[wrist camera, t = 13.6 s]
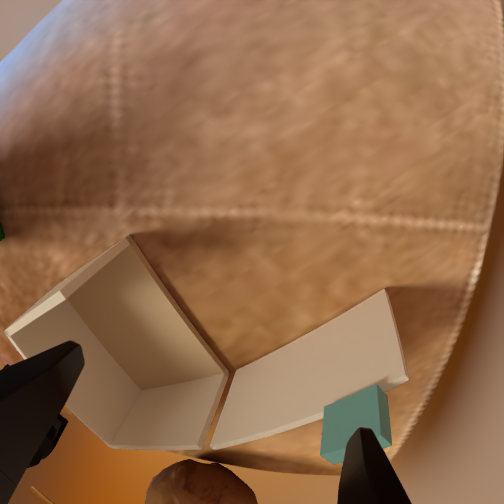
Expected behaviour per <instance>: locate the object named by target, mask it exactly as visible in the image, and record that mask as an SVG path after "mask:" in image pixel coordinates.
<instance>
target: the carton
mask: <svg viewBox="0 0 504 504" xmlns="http://www.w3.org/2000/svg"><path fill="white" fill-rule="evenodd" d="M4 333H5V334H6V336H7V337H8V338H9V340H10V341H11V342H12V344H13V345H14V346H15V348H16V349H17V350H18V352H19V353H20V354H21V355H22V357H23V358H24V359H27V358H30V357H32V356H34V355H36V354H39V353H41V352H43V351H46V350H48V349H50V348H52V347H55V346H57V345H59V344H62V343H64V342H66V341H69V340H72V341H74V342H76V343H78V344H80V345H81V347H82V351H83V355H84V359H85V365H84V368H83V370H82V372H81V374H80V376H79V378H78V380H77V382H76V384H75V386H74V388H73V390H72V392H71V394H70V396H69V398H68V400H67V402H66V403H65V406H66V407H67V408H68V409H69V410H70V411H71V412H72V413H73V414H74V415H75V416H76V417H77V418H78V419H79V420H80V421H81V422H82V423H84V424H85V425H86V426H87V427H88V428H89V429H90V430H91V431H92V432H93V433H94V434H95V435H96V436H98V437H99V438H100V439H101V440H102V441H103V442H104V443H105V444H107V445H108V446H109V447H110V448H115V449H132V450H200V449H202V448H203V445H204V442H205V440H206V437H207V434H208V432H209V429H210V426H211V424H212V421H213V418H214V415H215V413H216V410H217V407H218V405H219V402H220V399H221V396H222V394H223V391H224V388H225V385H226V383H227V380H228V377H229V374H230V372H229V371H228V370H227V369H226V367H225V366H224V365H223V364H222V362H221V361H220V360H219V359H218V357H217V356H216V355H215V353H214V352H213V351H212V350H211V348H210V347H209V346H208V344H207V343H206V342H205V341H204V339H203V338H202V337H201V335H200V334H199V333H198V331H197V330H196V329H195V327H194V326H193V325H192V323H191V322H190V321H189V319H188V318H187V317H186V315H185V314H184V312H183V311H182V310H181V308H180V307H179V306H178V304H177V303H176V301H175V300H174V299H173V297H172V296H171V294H170V293H169V292H168V290H167V289H166V287H165V286H164V284H163V283H162V282H161V280H160V279H159V277H158V276H157V274H156V273H155V271H154V270H153V268H152V267H151V266H150V264H149V263H148V261H147V260H146V258H145V257H144V255H143V254H142V252H141V251H140V249H139V248H138V246H137V244H136V243H135V241H134V240H133V238H132V237H131V235H128V236H127V237H125V238H123V239H122V240H120V241H119V242H117V243H116V244H114V245H113V246H112V247H110V248H109V249H107V250H106V251H104V252H103V253H101V254H100V255H98V256H97V257H95V258H94V259H93V260H91V261H90V262H88V263H87V264H85V265H84V266H83V267H81V268H80V269H78V270H77V271H75V272H74V273H73V274H71V275H70V276H69V277H67V278H66V279H64V280H63V281H62V282H60V283H59V284H58V285H56V286H55V287H54V288H53V289H52V290H50V291H49V292H48V293H47V294H46V295H45V296H43V297H42V298H41V299H40V300H39V301H37V302H36V303H35V304H34V305H33V306H32V307H30V308H29V309H28V310H27V311H26V312H25V313H24V314H23V315H21V316H20V317H19V318H18V319H17V320H16V321H15V322H14V323H12V324H11V325H10V326H9V327H8V328H7V329H6V330H5V331H4Z"/></svg>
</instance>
